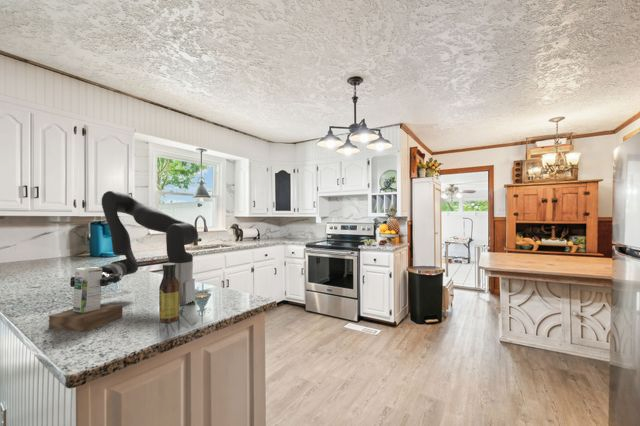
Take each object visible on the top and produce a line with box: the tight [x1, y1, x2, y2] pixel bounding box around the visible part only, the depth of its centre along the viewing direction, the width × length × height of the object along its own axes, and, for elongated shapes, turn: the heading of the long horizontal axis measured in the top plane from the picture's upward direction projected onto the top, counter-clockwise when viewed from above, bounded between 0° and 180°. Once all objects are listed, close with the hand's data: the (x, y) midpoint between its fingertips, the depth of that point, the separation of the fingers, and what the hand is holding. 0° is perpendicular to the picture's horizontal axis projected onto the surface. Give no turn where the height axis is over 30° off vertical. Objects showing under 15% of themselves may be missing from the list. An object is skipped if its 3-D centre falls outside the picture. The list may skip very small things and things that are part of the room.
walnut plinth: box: [48, 303, 123, 332], centre depth 102 cm, size 14×14×4 cm
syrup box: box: [72, 266, 102, 313], centre depth 102 cm, size 6×6×14 cm
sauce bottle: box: [158, 262, 180, 323], centre depth 104 cm, size 6×6×20 cm
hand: (87, 283), depth 101 cm, fingers open, 8 cm apart
